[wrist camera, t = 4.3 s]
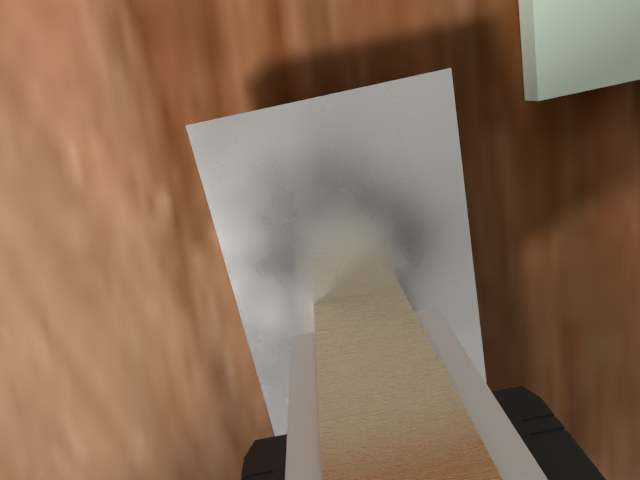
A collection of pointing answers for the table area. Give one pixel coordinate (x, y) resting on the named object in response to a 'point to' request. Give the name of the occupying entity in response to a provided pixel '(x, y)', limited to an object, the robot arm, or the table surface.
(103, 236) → the table surface
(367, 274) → the beige post on base
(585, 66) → the rest mat
